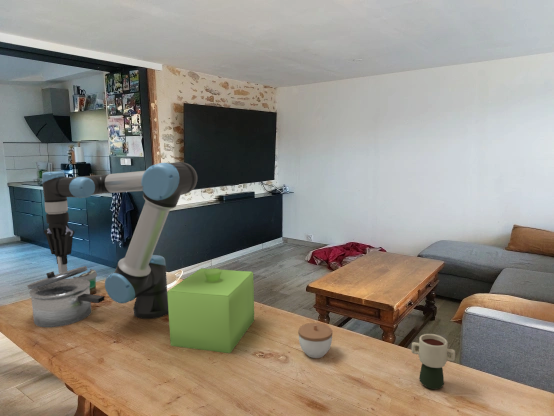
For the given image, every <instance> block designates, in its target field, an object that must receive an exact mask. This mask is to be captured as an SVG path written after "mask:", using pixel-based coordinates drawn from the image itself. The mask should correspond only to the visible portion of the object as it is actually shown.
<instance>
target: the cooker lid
mask: <svg viewBox="0 0 554 416" xmlns="http://www.w3.org/2000/svg"><path fill="white" fill-rule="evenodd" d="M86 271H88V266H86V265H84V266H80V267H76V268H74V269H73V268H72V269H70V270H67V272H64V273H55V272H54V270H53V271H50V272H47V273H45V274H46V277H45V278H43V279H40V280H37V281H35V282H31V283H30V284H27V285H26V287H27V289H28V290H31V289H34V288H38V287H41V286H44V285H48V284H51V283H54V282H57V281H60V280H63V279H70V278H71V277H75V276H76V275H80V274H81V273H82V274H83V273H84V272H86Z"/></svg>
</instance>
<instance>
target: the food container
mask: <svg viewBox="0 0 554 416" xmlns="http://www.w3.org/2000/svg"><path fill="white" fill-rule="evenodd" d="M97 277H98V273H97V271H96V270H95V269H92V268H90V270H89V271H87V272H85V273H84V272H83V273H82V274H81V275H80V274H79V276H72V278H80V279H86V280H88V281H89V282H90V286H89V290H90V294H91V295H96V293H97V287H96V286H97Z"/></svg>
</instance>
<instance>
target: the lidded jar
mask: <svg viewBox="0 0 554 416" xmlns="http://www.w3.org/2000/svg"><path fill="white" fill-rule="evenodd" d="M297 335H298V342H299V343H298V344H299V346H300V348H301V350H302V351H303V353H305V355H306V356H308V357H309V358H312V359H320V358H323V357H324V356H325V355H326V354H327V353H328V352H329V350H330V349H331V346H332V341H333V329H332V328H331V327H330V326H329V325H327V324H325V323H320V322H309V323H304V324H302V325H301V326H300V327H299V328H298V334H297Z"/></svg>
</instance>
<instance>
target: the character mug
mask: <svg viewBox="0 0 554 416" xmlns="http://www.w3.org/2000/svg"><path fill="white" fill-rule="evenodd" d="M448 343H449V342H448V340H447V339H446V338H445V337H443V336H442V335H440V334H434V333H423V334H422V335H420V336H419V341H418V342H415V341H413V342H412V343H411V353H412V354H413V355H418V360H419V362H420V363H421V368H420V370H419V371H420V372H419V378H418V379H419V382H420V384H422V386H424V387H426V388H428V389H432V390H435V389H436V390H438V389H441V388H443V386H444V385H445V379H444V370H443V367H445V366H446V364H447V362H455V360H456V351H455V349H453V348H448V347H449V346H448ZM416 347H418V350H416ZM448 353H450V356H448Z"/></svg>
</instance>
